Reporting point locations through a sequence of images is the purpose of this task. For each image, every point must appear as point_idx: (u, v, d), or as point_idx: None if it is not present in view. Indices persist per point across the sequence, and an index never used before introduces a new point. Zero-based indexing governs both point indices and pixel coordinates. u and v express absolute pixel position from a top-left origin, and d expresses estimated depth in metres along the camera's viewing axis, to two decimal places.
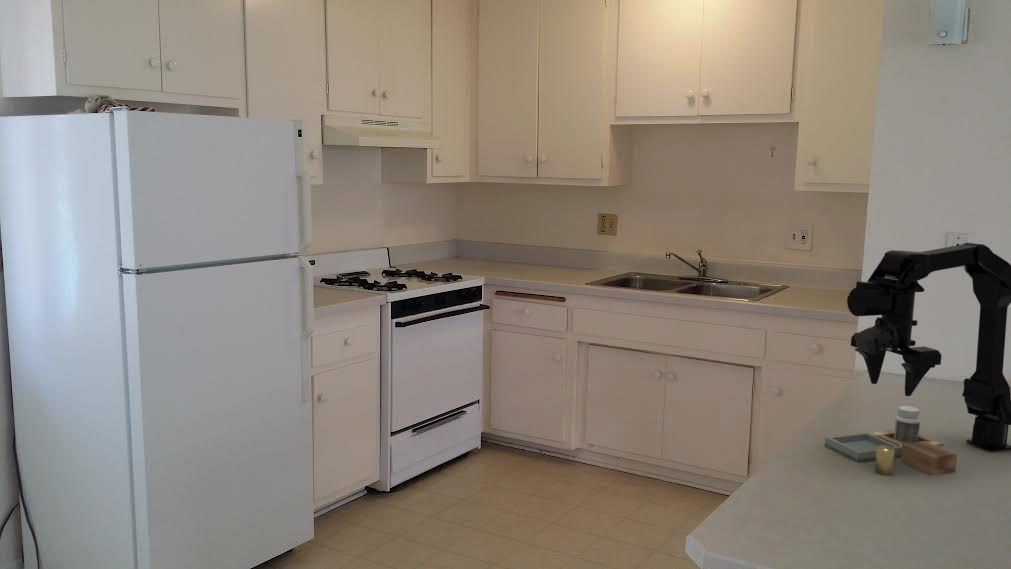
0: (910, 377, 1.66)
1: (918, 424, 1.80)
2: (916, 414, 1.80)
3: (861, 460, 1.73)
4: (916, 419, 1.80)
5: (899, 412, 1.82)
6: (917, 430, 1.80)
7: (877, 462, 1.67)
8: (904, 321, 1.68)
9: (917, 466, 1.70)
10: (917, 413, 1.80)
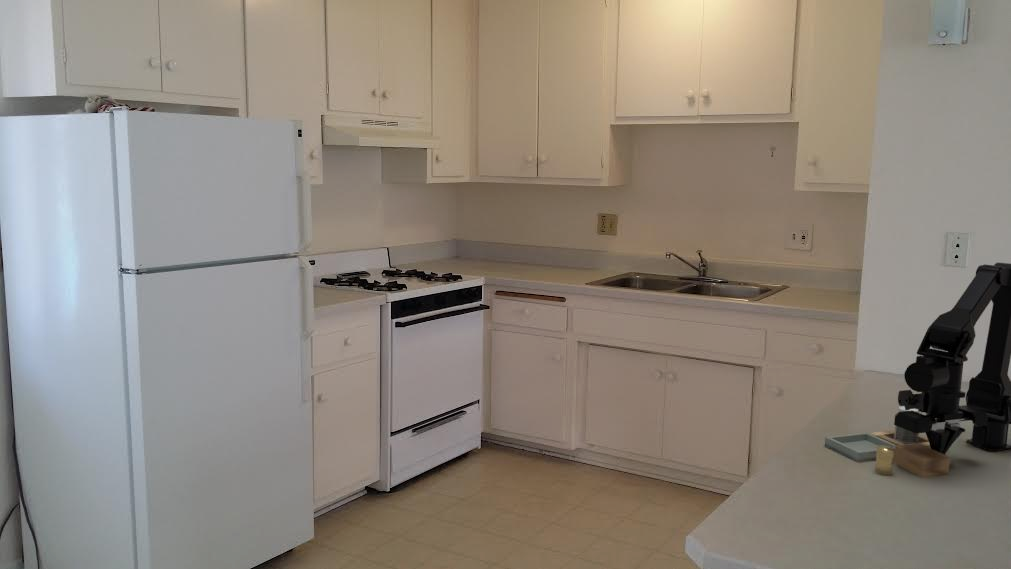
0: (928, 438, 1.71)
1: None
2: None
3: (861, 460, 1.73)
4: None
5: None
6: None
7: (877, 462, 1.67)
8: (930, 389, 1.69)
9: (909, 468, 1.68)
10: None
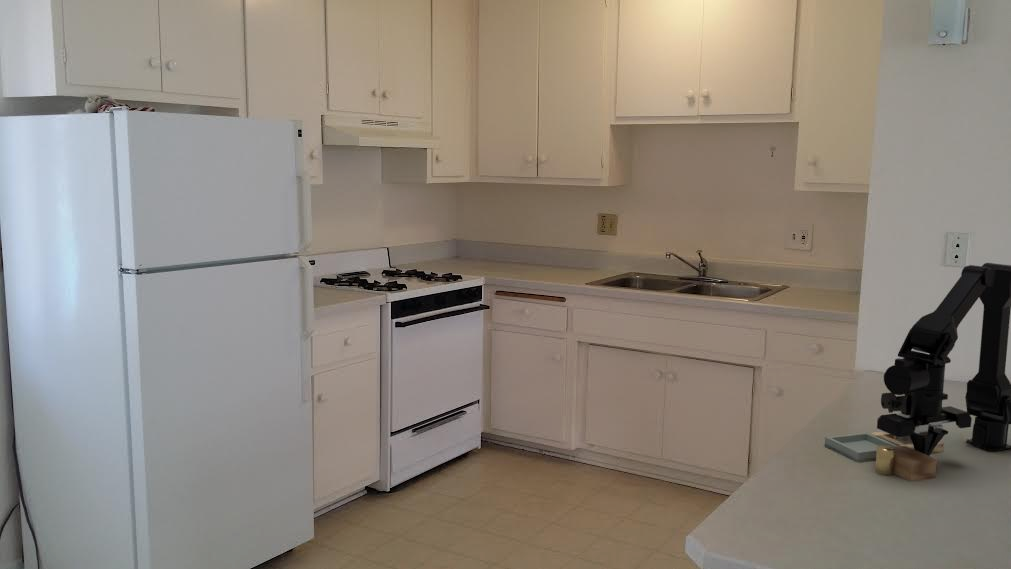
0: (912, 441, 1.70)
1: None
2: None
3: (861, 460, 1.73)
4: None
5: (899, 412, 1.82)
6: None
7: (877, 462, 1.67)
8: (912, 392, 1.68)
9: (896, 471, 1.66)
10: None
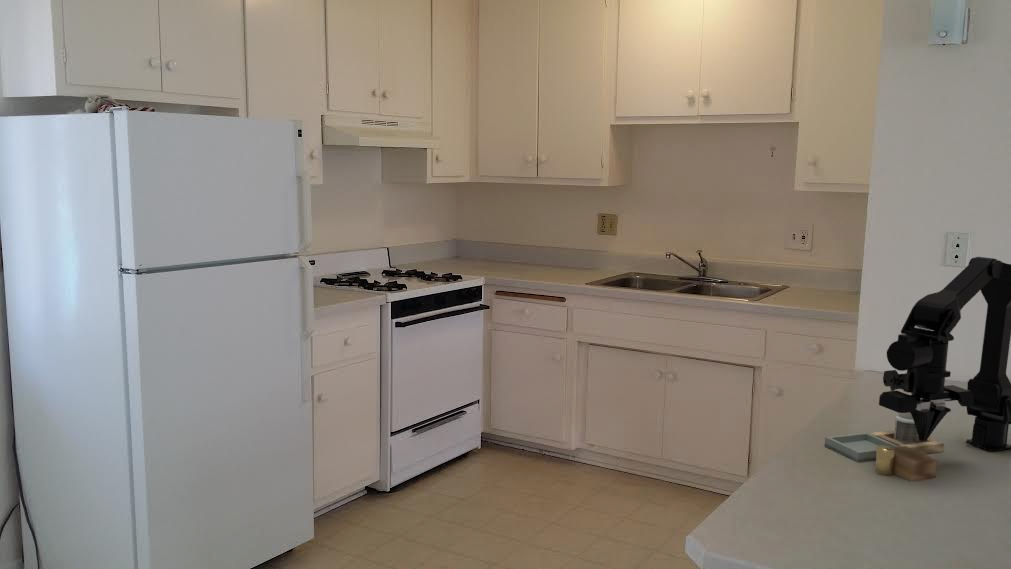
0: (913, 418, 1.69)
1: None
2: None
3: (861, 460, 1.73)
4: None
5: None
6: None
7: (877, 462, 1.67)
8: (915, 369, 1.67)
9: (896, 472, 1.66)
10: None
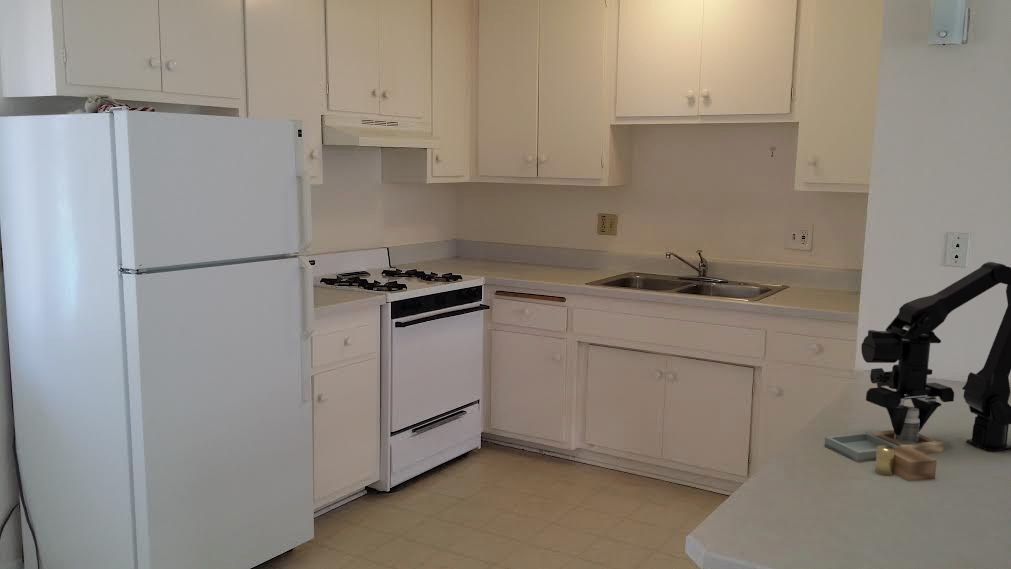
0: (889, 414, 1.82)
1: (918, 424, 1.80)
2: (916, 414, 1.80)
3: (861, 460, 1.73)
4: (916, 419, 1.80)
5: None
6: (917, 430, 1.80)
7: (877, 462, 1.67)
8: (899, 367, 1.80)
9: (895, 471, 1.67)
10: (917, 413, 1.80)
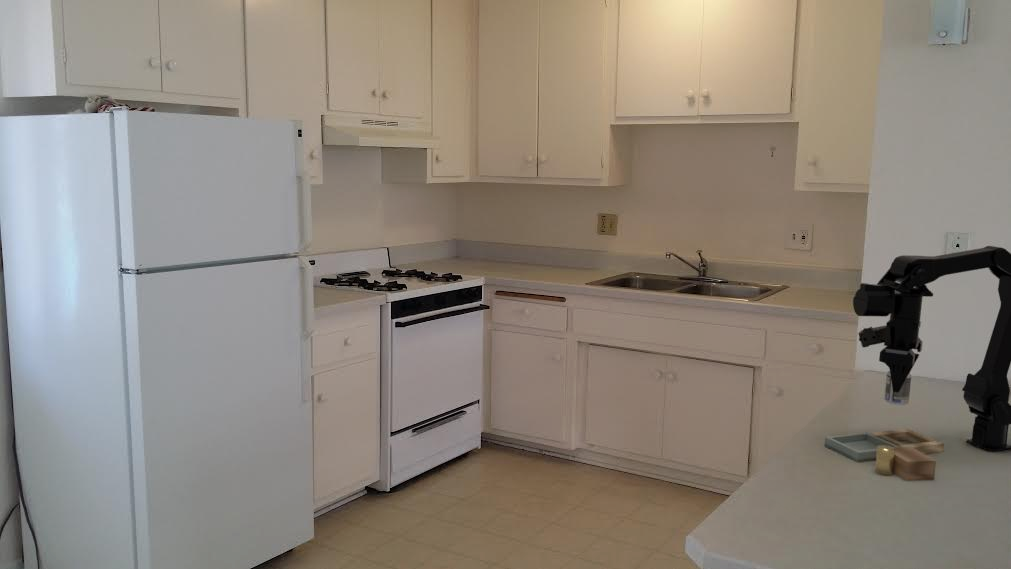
0: (890, 372, 1.77)
1: None
2: None
3: (861, 460, 1.73)
4: (909, 373, 1.79)
5: None
6: None
7: (877, 462, 1.67)
8: (899, 322, 1.76)
9: (894, 470, 1.67)
10: None
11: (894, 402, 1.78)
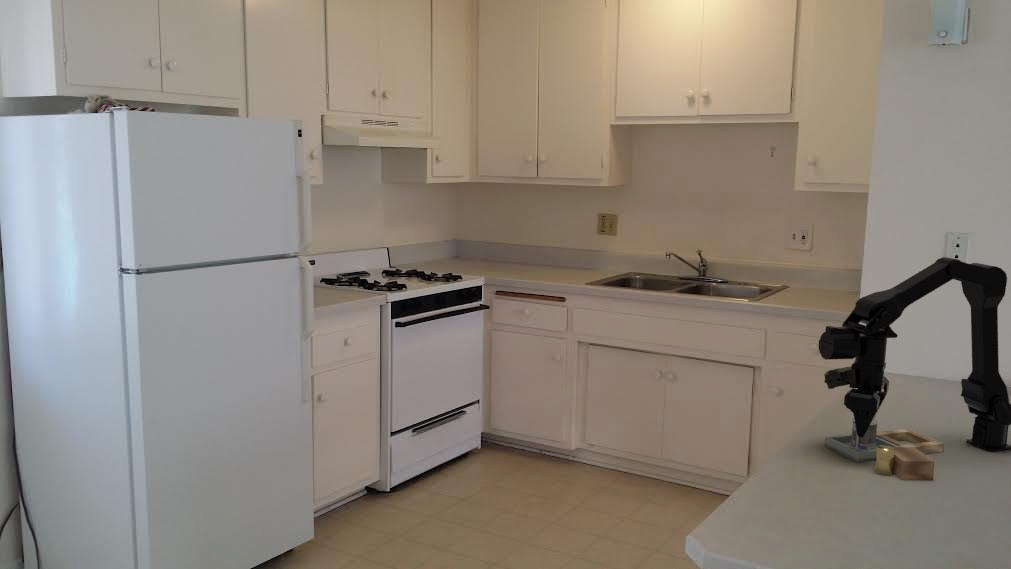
0: (854, 417, 1.73)
1: None
2: None
3: (861, 460, 1.73)
4: (875, 419, 1.78)
5: None
6: None
7: (877, 462, 1.67)
8: (863, 365, 1.74)
9: (893, 470, 1.67)
10: None
11: (860, 449, 1.77)
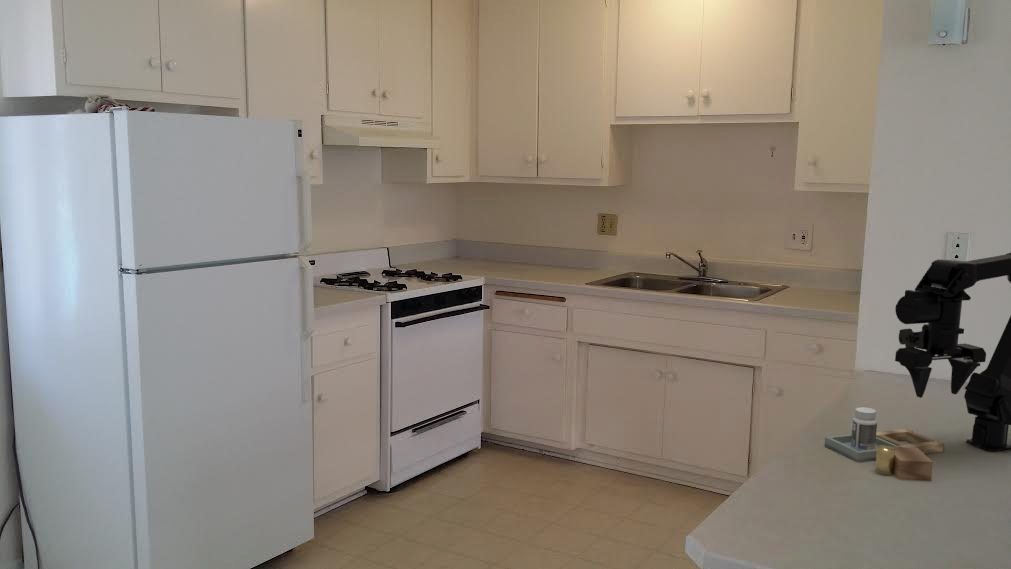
0: (911, 376, 1.75)
1: None
2: (875, 414, 1.77)
3: (861, 460, 1.73)
4: (875, 419, 1.78)
5: (860, 415, 1.77)
6: None
7: (877, 462, 1.67)
8: (930, 326, 1.74)
9: None
10: (875, 413, 1.77)
11: (860, 449, 1.77)
